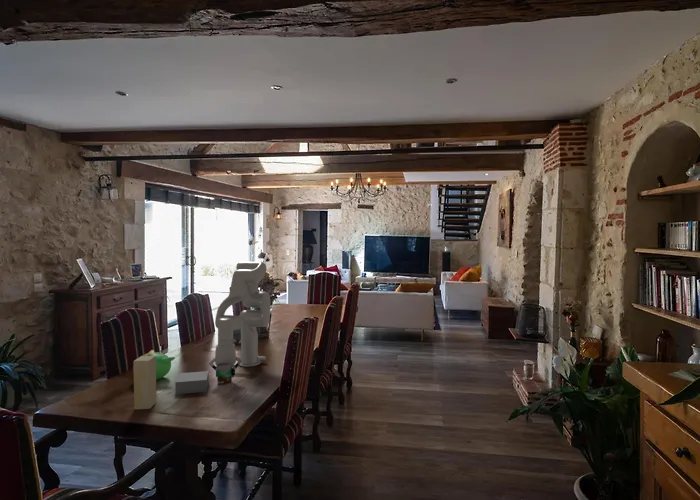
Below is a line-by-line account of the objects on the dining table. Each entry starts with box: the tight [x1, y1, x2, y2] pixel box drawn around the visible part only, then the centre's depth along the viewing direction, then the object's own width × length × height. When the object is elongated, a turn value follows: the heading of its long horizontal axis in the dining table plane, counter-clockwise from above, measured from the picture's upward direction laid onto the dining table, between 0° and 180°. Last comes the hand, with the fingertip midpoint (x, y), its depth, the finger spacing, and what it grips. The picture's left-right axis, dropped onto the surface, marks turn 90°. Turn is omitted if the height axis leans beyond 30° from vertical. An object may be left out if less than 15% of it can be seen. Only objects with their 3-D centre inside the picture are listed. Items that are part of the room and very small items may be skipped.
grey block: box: [174, 370, 209, 395], centre depth 211 cm, size 14×14×6 cm
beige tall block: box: [133, 355, 157, 410], centre depth 187 cm, size 8×7×21 cm
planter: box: [233, 328, 241, 346], centre depth 299 cm, size 14×14×15 cm
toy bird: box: [132, 349, 176, 381], centre depth 222 cm, size 18×17×15 cm
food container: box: [216, 364, 233, 386], centre depth 219 cm, size 12×6×10 cm, turn 174°
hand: (225, 377), depth 219 cm, fingers closed on food container, 6 cm apart
